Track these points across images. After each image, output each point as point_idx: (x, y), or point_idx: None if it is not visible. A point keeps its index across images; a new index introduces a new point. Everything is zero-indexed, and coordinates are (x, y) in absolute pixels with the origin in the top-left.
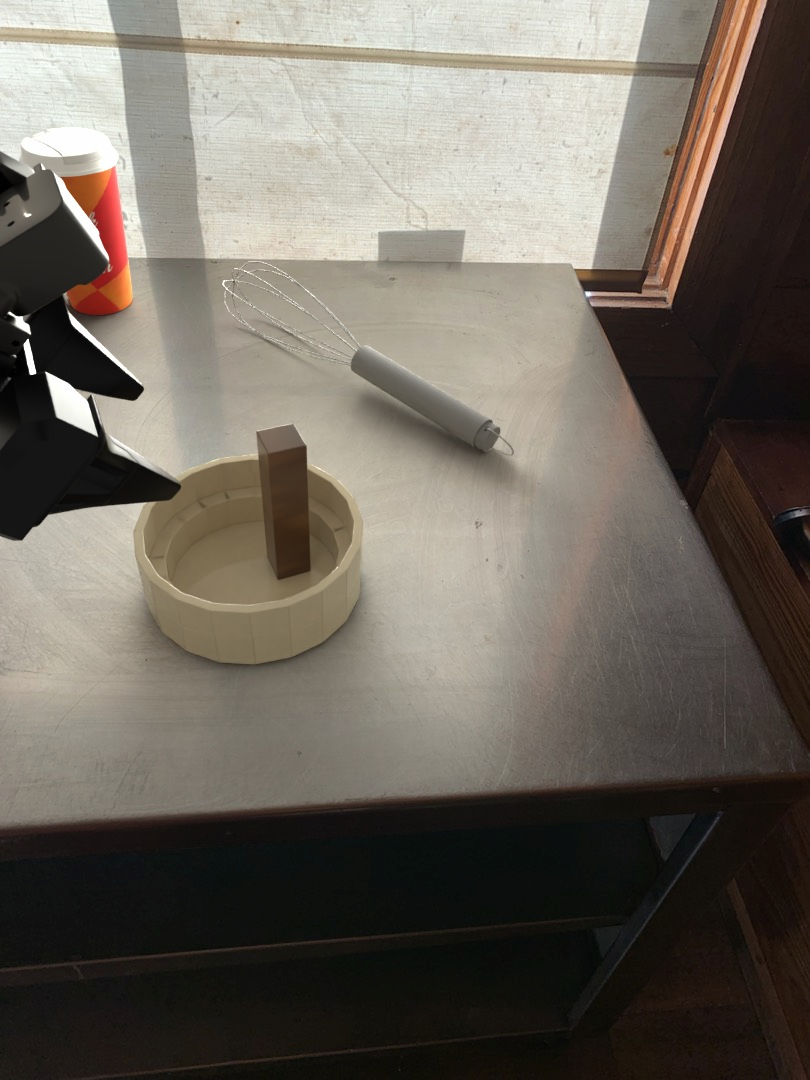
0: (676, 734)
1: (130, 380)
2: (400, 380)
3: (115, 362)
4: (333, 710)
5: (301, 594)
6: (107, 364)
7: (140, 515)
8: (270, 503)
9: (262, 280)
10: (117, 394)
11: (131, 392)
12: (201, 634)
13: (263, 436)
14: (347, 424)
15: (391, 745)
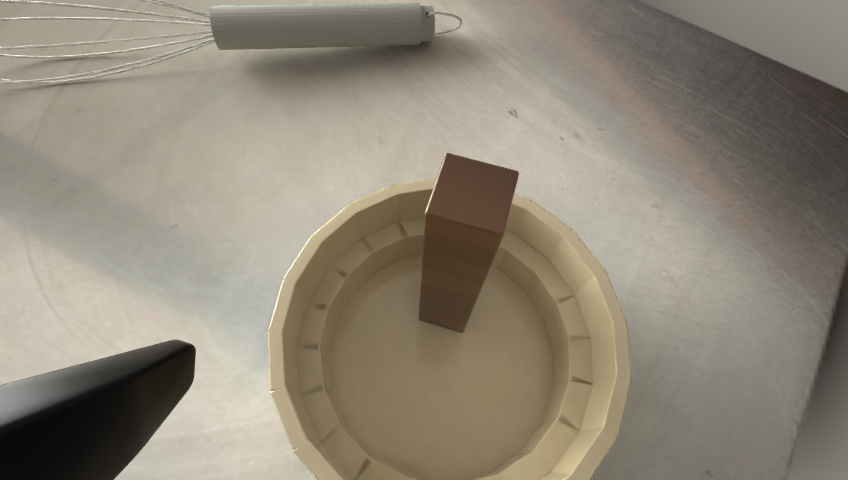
0: (826, 158)
1: (159, 370)
2: (295, 21)
3: (84, 387)
4: (669, 399)
5: (618, 349)
6: (72, 420)
7: (311, 467)
8: (475, 284)
9: None
10: (153, 422)
11: (178, 382)
12: None
13: (449, 212)
14: (281, 111)
15: (740, 375)
